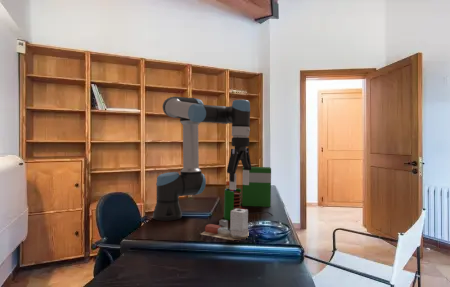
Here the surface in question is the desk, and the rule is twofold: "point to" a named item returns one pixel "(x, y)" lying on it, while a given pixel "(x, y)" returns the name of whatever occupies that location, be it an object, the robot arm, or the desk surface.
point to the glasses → (254, 213)
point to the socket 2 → (239, 220)
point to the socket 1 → (223, 223)
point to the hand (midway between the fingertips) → (239, 187)
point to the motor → (231, 201)
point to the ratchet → (226, 231)
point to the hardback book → (258, 188)
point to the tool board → (218, 235)
